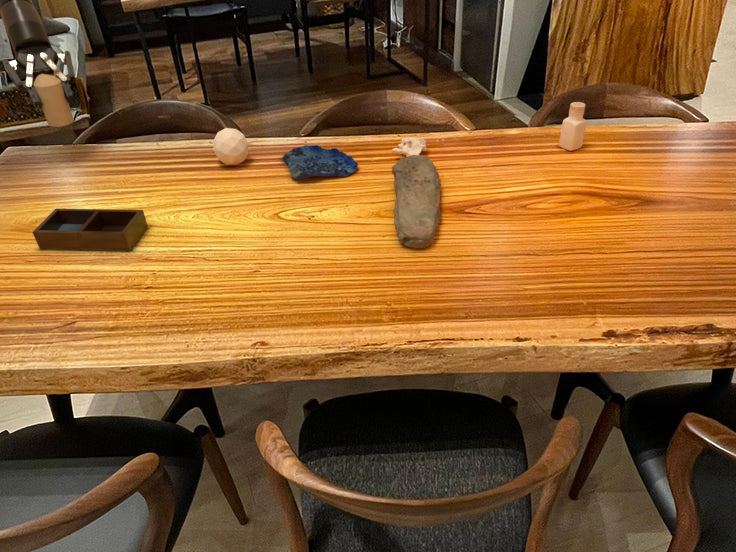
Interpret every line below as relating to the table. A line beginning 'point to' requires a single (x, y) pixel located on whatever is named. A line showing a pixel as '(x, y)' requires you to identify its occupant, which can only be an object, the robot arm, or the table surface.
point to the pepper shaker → (573, 127)
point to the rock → (318, 162)
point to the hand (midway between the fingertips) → (55, 102)
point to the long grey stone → (416, 200)
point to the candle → (53, 100)
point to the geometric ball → (230, 146)
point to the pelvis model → (411, 146)
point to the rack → (91, 229)
